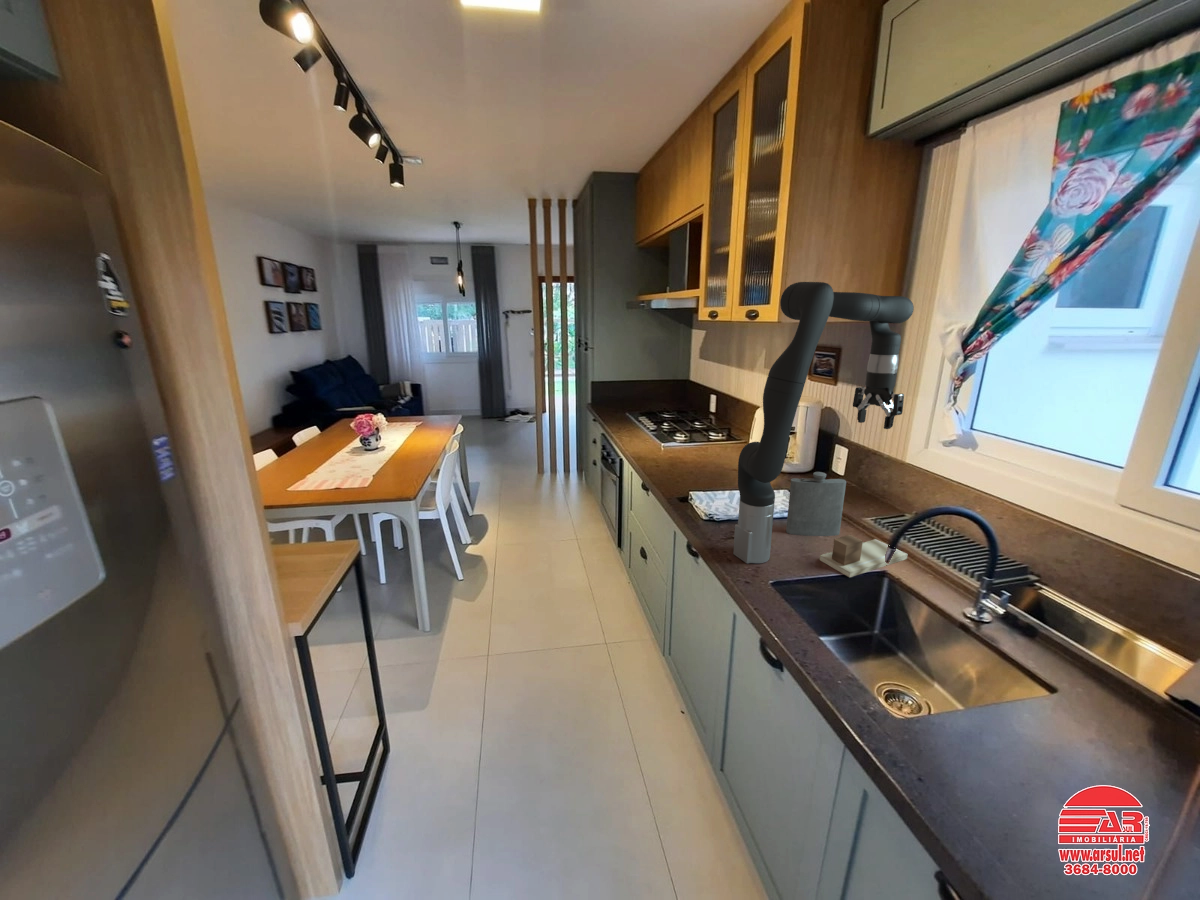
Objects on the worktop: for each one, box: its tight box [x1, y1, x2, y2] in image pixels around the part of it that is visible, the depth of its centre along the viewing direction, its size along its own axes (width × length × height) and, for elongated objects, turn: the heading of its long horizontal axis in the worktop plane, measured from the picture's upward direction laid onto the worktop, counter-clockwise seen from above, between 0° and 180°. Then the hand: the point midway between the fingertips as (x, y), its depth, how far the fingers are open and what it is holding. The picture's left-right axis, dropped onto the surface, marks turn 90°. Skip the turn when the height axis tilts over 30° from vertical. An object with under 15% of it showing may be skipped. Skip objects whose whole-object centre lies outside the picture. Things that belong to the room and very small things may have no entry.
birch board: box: [819, 538, 908, 578], centre depth 136 cm, size 22×10×2 cm, turn 113°
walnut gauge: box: [832, 534, 864, 565], centre depth 132 cm, size 6×4×6 cm, turn 113°
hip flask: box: [785, 471, 847, 537], centre depth 149 cm, size 16×4×20 cm, turn 84°
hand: (874, 425), depth 143 cm, fingers open, 8 cm apart
